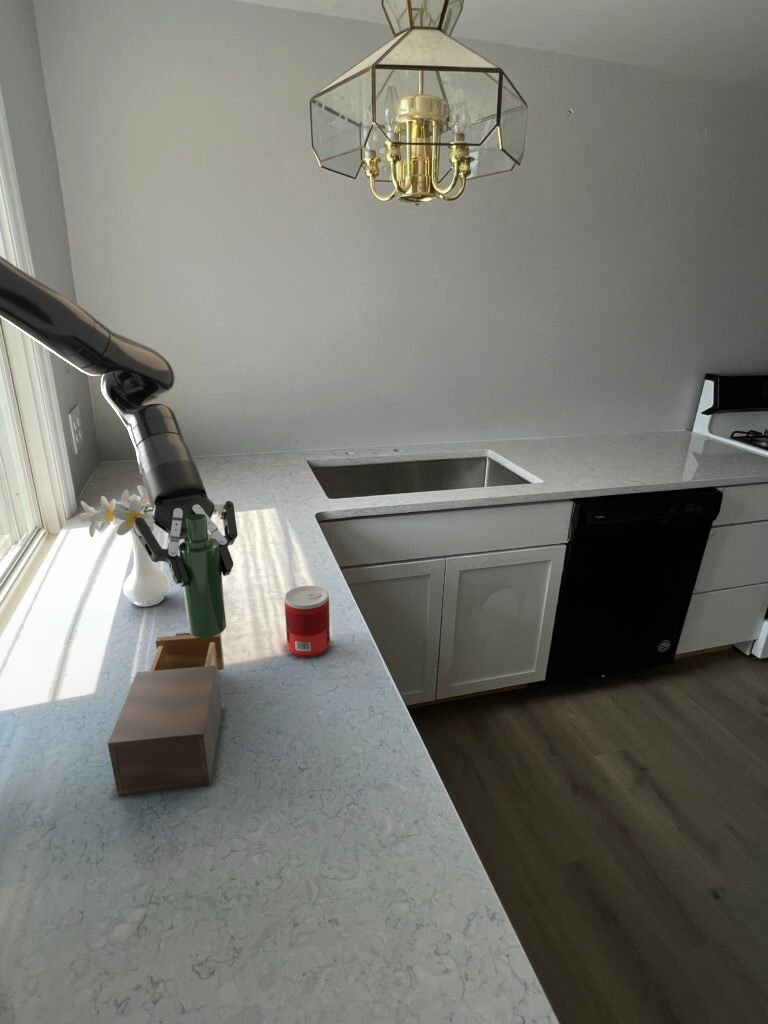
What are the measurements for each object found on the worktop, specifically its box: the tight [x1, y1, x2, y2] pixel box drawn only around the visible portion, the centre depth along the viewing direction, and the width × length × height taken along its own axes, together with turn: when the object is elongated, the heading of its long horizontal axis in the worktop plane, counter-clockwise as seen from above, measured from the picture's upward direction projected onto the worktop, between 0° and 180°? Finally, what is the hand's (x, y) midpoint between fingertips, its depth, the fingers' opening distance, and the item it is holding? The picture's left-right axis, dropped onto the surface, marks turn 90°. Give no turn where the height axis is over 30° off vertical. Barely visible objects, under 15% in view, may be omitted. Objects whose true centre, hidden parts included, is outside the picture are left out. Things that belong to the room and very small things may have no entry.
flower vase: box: [79, 484, 171, 608], centre depth 115 cm, size 13×18×25 cm
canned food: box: [284, 585, 331, 659], centre depth 102 cm, size 8×8×11 cm
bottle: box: [178, 514, 227, 638], centre depth 77 cm, size 5×5×17 cm
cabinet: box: [107, 666, 223, 796], centre depth 79 cm, size 15×12×9 cm
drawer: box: [148, 632, 225, 674], centre depth 91 cm, size 18×10×7 cm, turn 9°
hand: (206, 578), depth 75 cm, fingers closed on bottle, 5 cm apart
